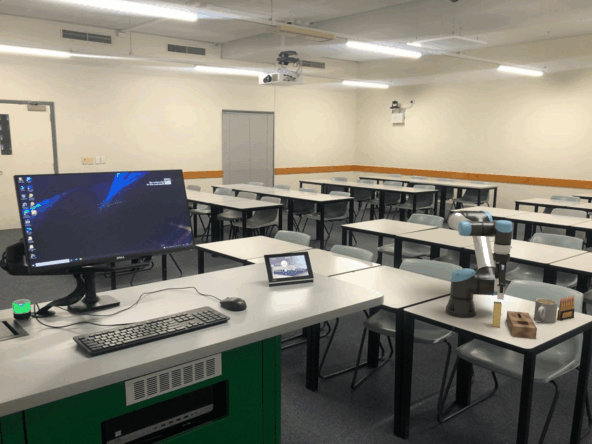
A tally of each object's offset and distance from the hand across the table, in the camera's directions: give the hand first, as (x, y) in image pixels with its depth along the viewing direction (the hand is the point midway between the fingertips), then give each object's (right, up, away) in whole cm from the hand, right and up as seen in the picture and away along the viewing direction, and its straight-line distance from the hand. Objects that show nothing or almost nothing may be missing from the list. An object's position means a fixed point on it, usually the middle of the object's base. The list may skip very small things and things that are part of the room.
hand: (498, 295), depth 244 cm
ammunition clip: (+40, -14, +14) cm, 45 cm away
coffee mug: (+27, -15, +11) cm, 33 cm away
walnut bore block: (+10, -16, -1) cm, 19 cm away
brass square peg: (0, -16, +3) cm, 16 cm away
